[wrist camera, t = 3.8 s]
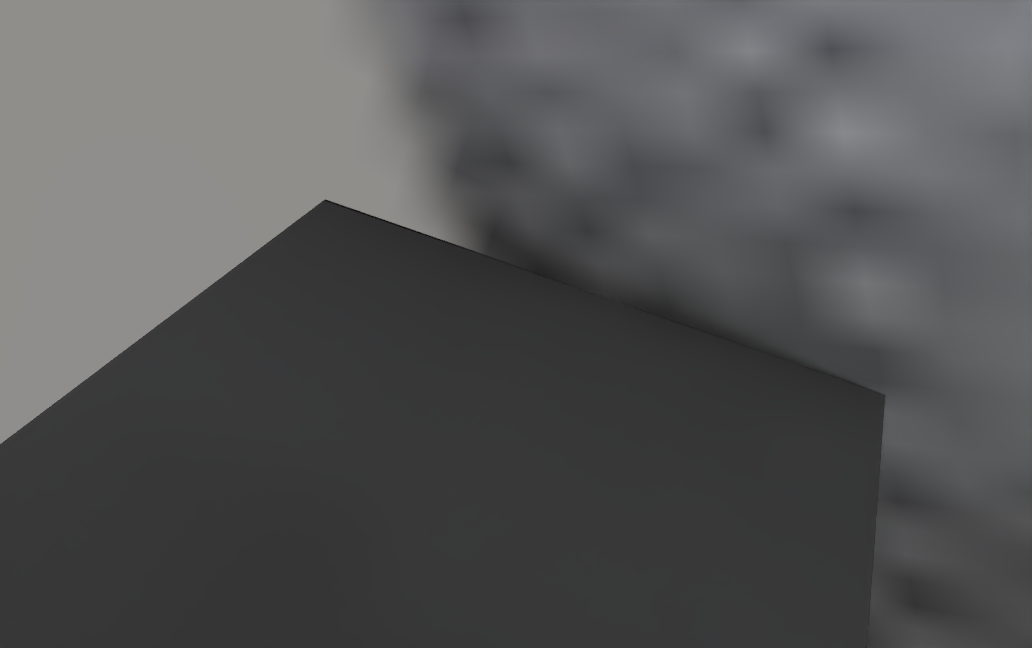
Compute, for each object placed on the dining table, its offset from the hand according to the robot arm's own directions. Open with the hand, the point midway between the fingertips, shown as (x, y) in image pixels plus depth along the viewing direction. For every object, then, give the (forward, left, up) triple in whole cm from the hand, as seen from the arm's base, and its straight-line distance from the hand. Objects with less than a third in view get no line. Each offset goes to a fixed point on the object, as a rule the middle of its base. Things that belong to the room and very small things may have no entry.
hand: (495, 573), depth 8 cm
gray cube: (0, 0, -1) cm, 1 cm away
